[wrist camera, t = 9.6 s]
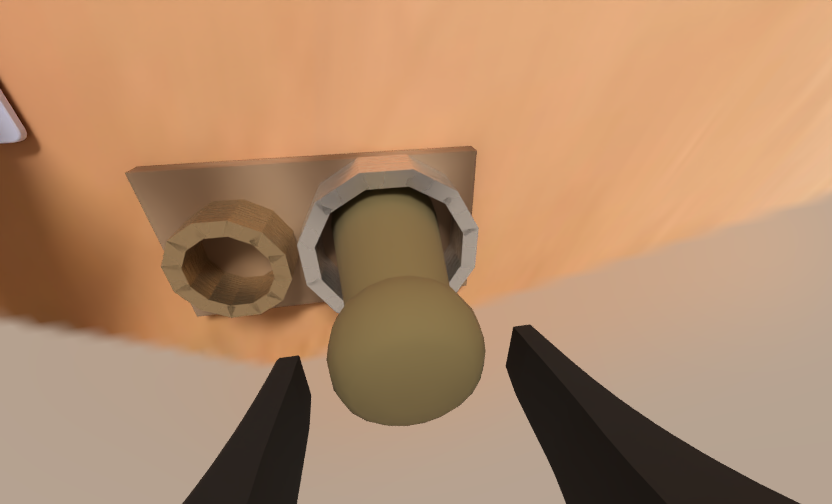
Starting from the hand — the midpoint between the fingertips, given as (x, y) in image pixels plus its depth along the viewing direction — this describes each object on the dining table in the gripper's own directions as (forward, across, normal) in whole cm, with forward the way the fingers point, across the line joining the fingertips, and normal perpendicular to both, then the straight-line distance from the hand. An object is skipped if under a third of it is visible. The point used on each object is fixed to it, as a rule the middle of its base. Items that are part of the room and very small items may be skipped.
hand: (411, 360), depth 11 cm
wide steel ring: (+9, 0, 0) cm, 9 cm away
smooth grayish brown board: (+10, +4, 0) cm, 11 cm away
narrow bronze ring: (+9, +8, 0) cm, 12 cm away
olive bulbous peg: (+10, 0, 0) cm, 10 cm away
